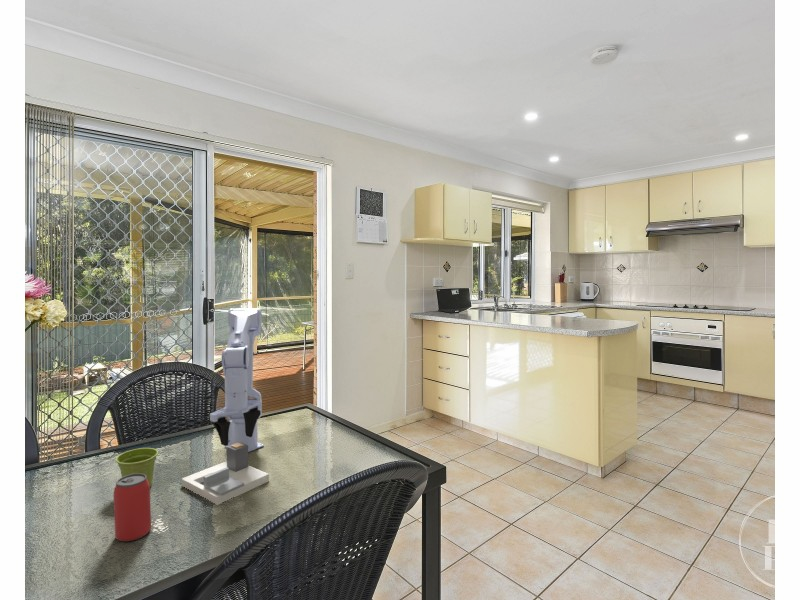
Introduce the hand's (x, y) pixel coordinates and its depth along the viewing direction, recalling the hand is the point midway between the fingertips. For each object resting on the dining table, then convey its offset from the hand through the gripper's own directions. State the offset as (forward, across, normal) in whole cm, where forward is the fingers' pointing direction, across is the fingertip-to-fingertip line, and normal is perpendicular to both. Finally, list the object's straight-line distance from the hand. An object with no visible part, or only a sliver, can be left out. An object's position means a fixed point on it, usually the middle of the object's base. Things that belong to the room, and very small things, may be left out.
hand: (237, 440), depth 122 cm
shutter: (+7, -9, -7) cm, 13 cm away
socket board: (+10, -5, -2) cm, 11 cm away
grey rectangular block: (+8, 0, 0) cm, 8 cm away
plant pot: (+10, -20, +14) cm, 26 cm away
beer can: (+10, -30, -6) cm, 32 cm away
